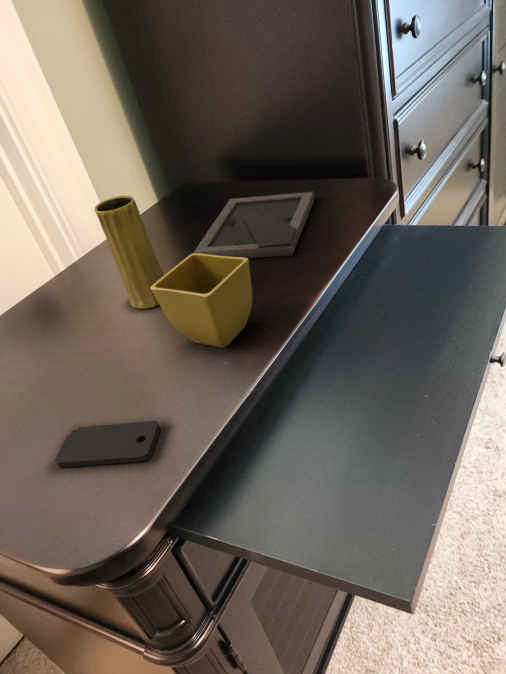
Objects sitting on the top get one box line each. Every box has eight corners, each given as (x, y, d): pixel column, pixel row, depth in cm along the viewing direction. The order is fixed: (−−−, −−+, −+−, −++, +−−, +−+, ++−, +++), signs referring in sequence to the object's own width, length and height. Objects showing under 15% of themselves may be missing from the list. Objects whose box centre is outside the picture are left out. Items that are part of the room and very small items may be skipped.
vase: (179, 291, 78) (146, 195, 68) (151, 313, 74) (112, 215, 65) (151, 284, 80) (115, 192, 71) (122, 305, 77) (80, 211, 68)
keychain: (71, 427, 56) (159, 420, 55) (74, 432, 57) (161, 425, 56) (52, 463, 53) (146, 456, 51) (56, 467, 53) (149, 460, 52)
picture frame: (292, 255, 80) (314, 200, 95) (290, 243, 79) (312, 189, 94) (196, 261, 84) (231, 207, 99) (192, 249, 83) (229, 196, 98)
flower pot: (172, 349, 66) (147, 286, 60) (211, 312, 72) (191, 251, 66) (228, 361, 62) (208, 296, 56) (265, 321, 68) (250, 257, 62)
